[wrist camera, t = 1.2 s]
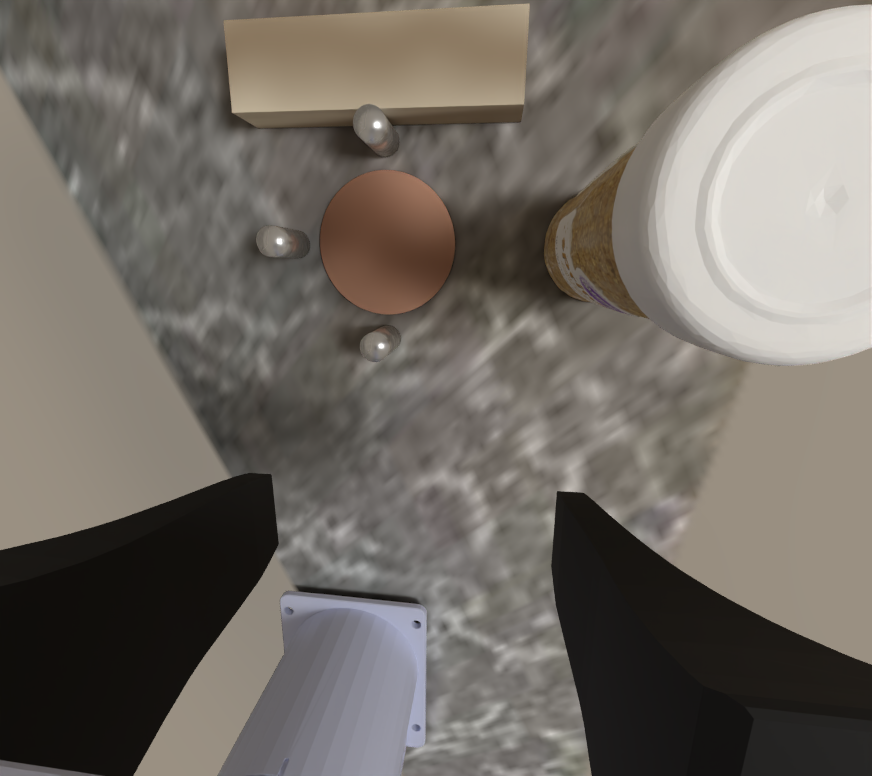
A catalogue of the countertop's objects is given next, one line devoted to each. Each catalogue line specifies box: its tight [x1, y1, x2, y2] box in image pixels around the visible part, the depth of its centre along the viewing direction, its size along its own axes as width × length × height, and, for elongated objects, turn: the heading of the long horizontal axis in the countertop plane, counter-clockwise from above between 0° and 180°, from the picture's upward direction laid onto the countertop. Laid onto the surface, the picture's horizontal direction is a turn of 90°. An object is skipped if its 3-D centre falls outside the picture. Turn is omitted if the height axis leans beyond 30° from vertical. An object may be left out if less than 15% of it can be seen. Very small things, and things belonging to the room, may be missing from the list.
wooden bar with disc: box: [224, 4, 530, 314], centre depth 18 cm, size 11×11×2 cm
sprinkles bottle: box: [544, 5, 872, 366], centre depth 12 cm, size 5×5×13 cm
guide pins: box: [256, 104, 401, 362], centre depth 19 cm, size 9×5×2 cm, turn 179°
